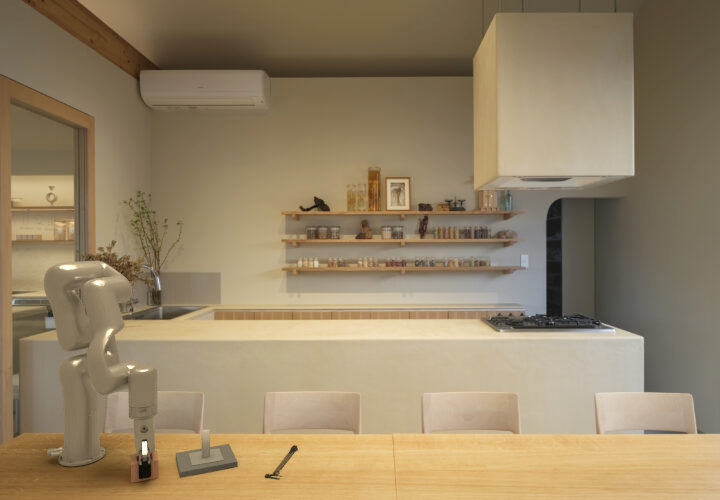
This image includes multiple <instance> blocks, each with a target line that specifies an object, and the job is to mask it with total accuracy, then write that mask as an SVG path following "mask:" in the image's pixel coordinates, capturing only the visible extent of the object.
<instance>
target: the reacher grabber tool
mask: <svg viewBox="0 0 720 500" xmlns="http://www.w3.org/2000/svg"><path fill="white" fill-rule="evenodd" d="M296 450H298V445H296V444H294V445H292V446H291V447H290V450H289V452H288V453H287V454H286V455H285V456H284V458H283V459H282V460H281V462H279V464H278V465H277V467H276V468H275V469H274V471H273V472H272V473H265V474H264V478H265V479H272V480H281V478H280V477H283V475H279V474H280V473H281V472H280V471H281V470H282V468H284V466H285V465H286V464H287V463H288V461H289V460H290V459H291V457H293V455H294V454H295V452H296ZM278 477H279V478H278Z"/></svg>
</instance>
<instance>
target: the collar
mask: <svg viewBox="0 0 720 500" xmlns="http://www.w3.org/2000/svg"><path fill="white" fill-rule="evenodd" d="M147 456H148V454H147ZM141 458H142V455H141ZM150 462H151V477H149V478H144V479H139V468H138V464H139V455H138V454H137V453H135V454H131V455H130V483H137V482H138V483H139V482H143V481H149V480H154V479H155V480H156V479H159V457H158V451H157V450H155V452H154V453H153V452H150Z"/></svg>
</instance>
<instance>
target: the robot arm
mask: <svg viewBox="0 0 720 500" xmlns="http://www.w3.org/2000/svg"><path fill="white" fill-rule="evenodd" d="M43 288H44V293H45V297H46V298H47V300H48V302H49V305H50V307H51V310H52V311H51V312H52V314H53V316H52V317H53V321H54V326H55V331H56V336H57V341H58V343H59V344H58V345H59V347H60V349H61V350H62V351H65V352H76V351H81V350H87V352H86V353H82V354H77V355H73V356H70V357H68V358H66V359H65V360H63V361H62V362H61V364H60V365H59V368H58V370H57V371H58V379H59V383H60V387H61V393H62V408H63V409H62V410H63V445H60V446H59V447H51V448H47V453H46V454H47V456H50V458H55V457H58V463H59V465H61V466H64V467H80V466H85V465H90V464H92V463H93V464H94V463H95V462H97V461H99V460H101V459H102V458H104V457H105V456H106V449H105V447H103V446H102V445H100V444H101V443H100V440H101V439H100V403H99V396H98V394H99V395H102V396H108V395H111V394H115V393H118V392H121V391H124V390H128V418H129V419H131V420H133V434H134V443H135V451H136V454H138V455H139V464H138V468H139V479H144V478H149V477H151V462H150V452H153V453H154V452H155V451H156V430H155V429H156V428H155V427H156V426H155V425H156V424H155V423H156V422H155V417H156V416H157V415H158V414H159V413H158V411H159V407H158V406H159V405H158V404H159V403H158V369H157V367H156V366H155V365H151V364H143V363H141V362H139V361H137V360H127V361H125V362H120V356H119V351H118V345H117V339H116V336H115V335H117V334H119V332H121V331H122V330H124V328H125V321H124V318H123V315H122V313H121V309H120V306H119V304H123V303H126V302H128V301H129V300H131V298H132V295H133V288H132V285H131V282H130V281H129V280H128V278H126V276H124V275H123V274H122V273H120V272H119V271H118V270H116V269H115V268H114V267H112V266H111V265H109V264H108V263H106V262H105V261H102V260H101V261H100V260H84V261H83V260H82V261H67V262H60V263H56V264H54V265H51V266H50V267H49V268H48V269H47V270H46V272H45V274H44V278H43ZM75 290H80V293H81V297H82V299H81V298H80V297H79V296H78V295H77V294H76V293H75V292H74V291H75ZM85 310H86V311H85ZM147 454H148V456H147ZM141 455H142V458H141Z"/></svg>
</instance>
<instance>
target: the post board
mask: <svg viewBox="0 0 720 500" xmlns="http://www.w3.org/2000/svg"><path fill="white" fill-rule="evenodd" d="M200 435H201V436H200V437H201V447H200V448H197V449H191V450H183V451H179V452H175V461H176V465H177V470H178V475H179V478H184V477H185V478H186V477H190V476H195V475H200V474H206V473H210V472H211V473H212V472H216V471H222V470H227V469H228V470H229V469H232V468H237V467H238V465H239V464H238V459H237V458H236V456H235V454H234V451H233V449H232V447H231V445H230V443H227V444H220V445H214V446H211V430H210V429H209V428H208V429H207V428H206V429H205V428H204V429H202V430H201V434H200Z"/></svg>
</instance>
